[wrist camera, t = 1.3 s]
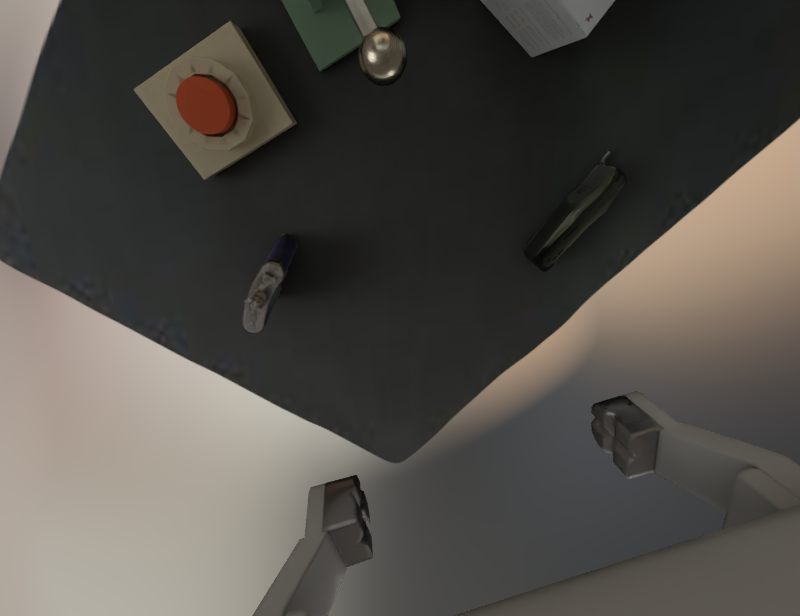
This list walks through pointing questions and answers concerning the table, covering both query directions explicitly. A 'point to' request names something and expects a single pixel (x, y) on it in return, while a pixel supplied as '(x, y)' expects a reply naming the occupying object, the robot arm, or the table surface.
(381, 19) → the switch bracket
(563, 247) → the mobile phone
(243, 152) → the button housing
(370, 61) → the lever
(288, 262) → the flask
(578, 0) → the small box
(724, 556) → the robot arm
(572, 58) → the table surface
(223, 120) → the button
